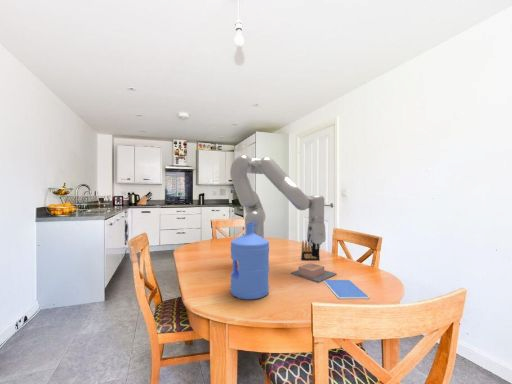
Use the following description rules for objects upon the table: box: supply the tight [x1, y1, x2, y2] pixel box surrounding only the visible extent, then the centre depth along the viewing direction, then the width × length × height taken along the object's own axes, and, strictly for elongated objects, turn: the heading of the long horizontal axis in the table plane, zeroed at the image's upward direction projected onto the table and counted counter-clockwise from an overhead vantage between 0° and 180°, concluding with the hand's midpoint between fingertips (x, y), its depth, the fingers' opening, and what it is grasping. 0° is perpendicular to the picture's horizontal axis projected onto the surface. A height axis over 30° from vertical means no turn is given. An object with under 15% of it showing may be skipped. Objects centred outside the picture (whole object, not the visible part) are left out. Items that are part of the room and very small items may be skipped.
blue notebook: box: [323, 279, 370, 300], centre depth 105 cm, size 19×13×1 cm, turn 2°
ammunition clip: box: [300, 240, 321, 262], centre depth 149 cm, size 11×2×12 cm, turn 90°
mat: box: [290, 269, 337, 283], centre depth 123 cm, size 16×16×1 cm
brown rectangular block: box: [298, 262, 325, 278], centre depth 122 cm, size 4×8×10 cm
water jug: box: [229, 223, 270, 301], centre depth 101 cm, size 16×16×28 cm
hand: (315, 256), depth 125 cm, fingers closed
